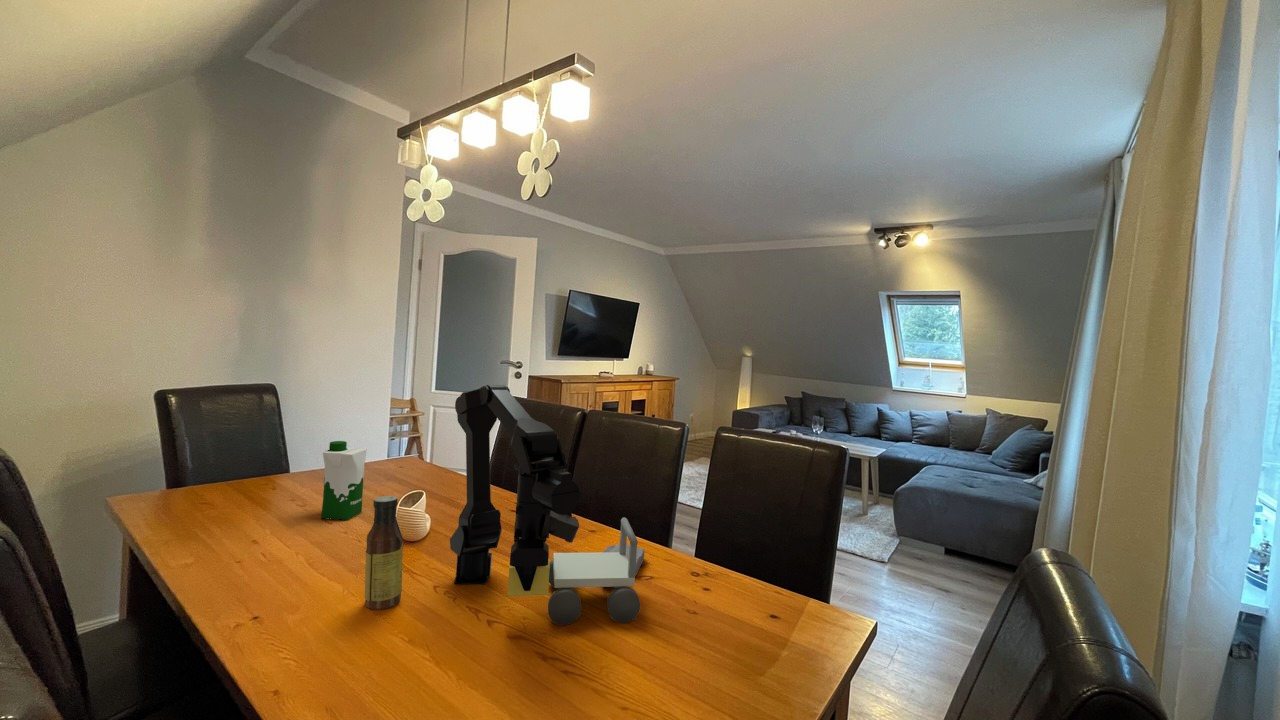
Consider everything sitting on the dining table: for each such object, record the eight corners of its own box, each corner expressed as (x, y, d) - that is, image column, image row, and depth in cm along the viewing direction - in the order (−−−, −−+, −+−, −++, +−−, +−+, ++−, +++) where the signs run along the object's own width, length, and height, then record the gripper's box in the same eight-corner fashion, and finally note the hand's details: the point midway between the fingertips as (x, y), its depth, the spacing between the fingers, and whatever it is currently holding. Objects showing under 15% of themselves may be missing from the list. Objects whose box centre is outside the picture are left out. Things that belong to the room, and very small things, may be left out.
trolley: (547, 625, 92) (552, 543, 92) (546, 584, 108) (550, 513, 108) (639, 622, 96) (644, 542, 95) (625, 583, 111) (630, 514, 111)
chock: (507, 596, 90) (509, 568, 90) (508, 584, 94) (510, 557, 94) (547, 595, 91) (549, 567, 91) (547, 583, 96) (549, 557, 95)
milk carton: (335, 509, 144) (339, 438, 144) (367, 511, 144) (371, 441, 144) (315, 519, 136) (319, 444, 135) (349, 522, 135) (353, 447, 135)
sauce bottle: (408, 599, 98) (414, 497, 98) (382, 614, 92) (388, 505, 92) (381, 592, 100) (387, 491, 100) (354, 606, 95) (360, 499, 94)
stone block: (594, 582, 115) (638, 580, 113) (592, 560, 115) (635, 558, 113) (607, 563, 127) (647, 561, 125) (605, 543, 127) (644, 541, 125)
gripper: (581, 516, 85) (575, 609, 85) (574, 485, 103) (569, 561, 103) (512, 516, 83) (506, 611, 83) (517, 484, 101) (512, 562, 101)
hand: (527, 584), depth 93 cm, fingers closed on chock, 4 cm apart
